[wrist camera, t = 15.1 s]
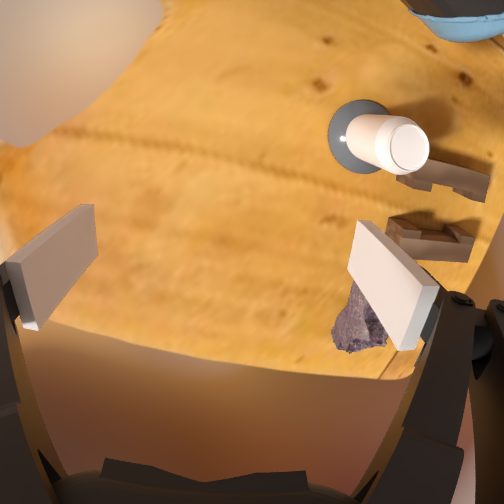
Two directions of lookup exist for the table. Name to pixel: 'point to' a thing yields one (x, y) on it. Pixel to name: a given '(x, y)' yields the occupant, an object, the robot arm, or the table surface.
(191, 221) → the table surface
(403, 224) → the notched wooden bars
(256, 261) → the table surface
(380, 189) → the table surface
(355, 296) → the stone
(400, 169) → the beverage can
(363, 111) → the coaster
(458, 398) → the robot arm
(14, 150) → the table surface
